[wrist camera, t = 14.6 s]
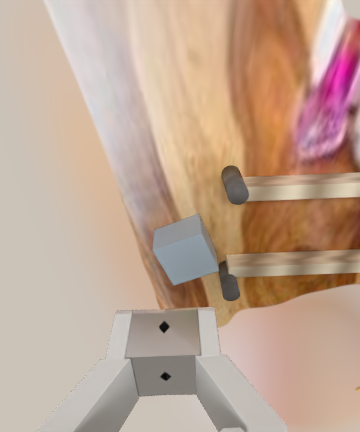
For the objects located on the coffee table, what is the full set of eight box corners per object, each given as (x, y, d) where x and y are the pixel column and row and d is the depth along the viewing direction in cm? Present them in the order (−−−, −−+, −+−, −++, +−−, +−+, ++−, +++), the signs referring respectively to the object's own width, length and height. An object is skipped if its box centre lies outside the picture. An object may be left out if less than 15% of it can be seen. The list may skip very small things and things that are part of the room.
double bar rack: (400, 158, 41) (433, 178, 36) (362, 267, 50) (383, 294, 45) (221, 166, 41) (228, 186, 36) (217, 272, 51) (222, 301, 45)
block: (198, 212, 45) (201, 233, 41) (215, 248, 48) (219, 270, 44) (154, 229, 46) (152, 250, 42) (173, 262, 50) (173, 285, 45)
